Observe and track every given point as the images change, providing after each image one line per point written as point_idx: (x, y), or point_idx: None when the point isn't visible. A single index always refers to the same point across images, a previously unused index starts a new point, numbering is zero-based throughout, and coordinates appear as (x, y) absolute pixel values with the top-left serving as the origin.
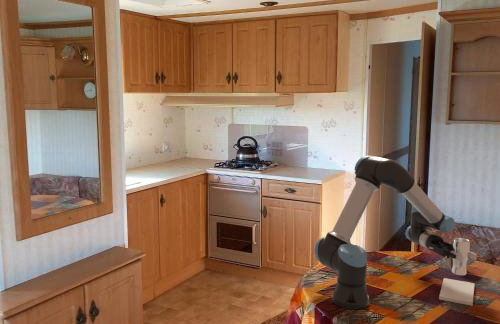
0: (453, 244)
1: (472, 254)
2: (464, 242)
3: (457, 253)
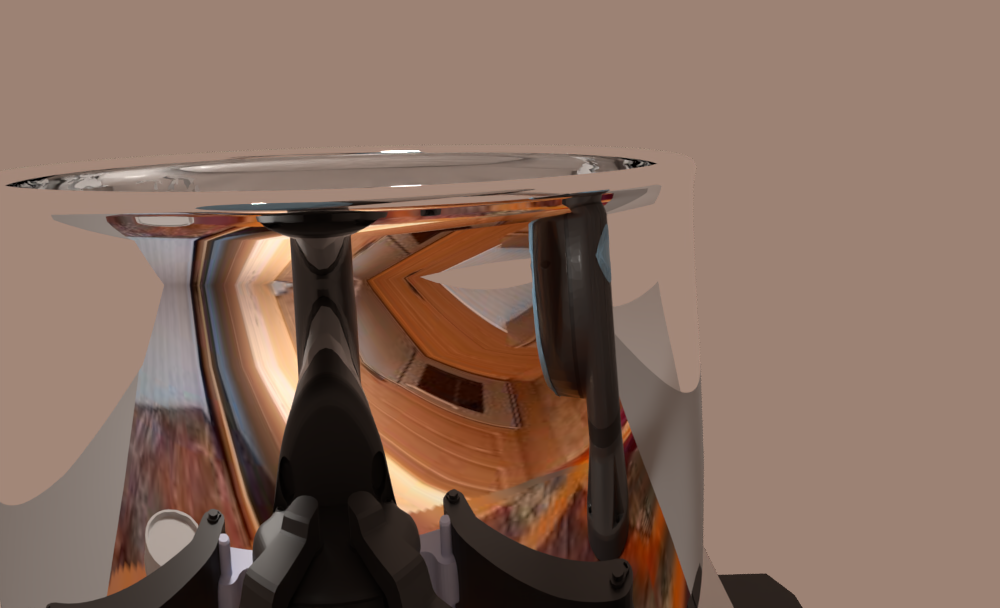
0: (699, 388)
1: None
2: (484, 147)
3: None
